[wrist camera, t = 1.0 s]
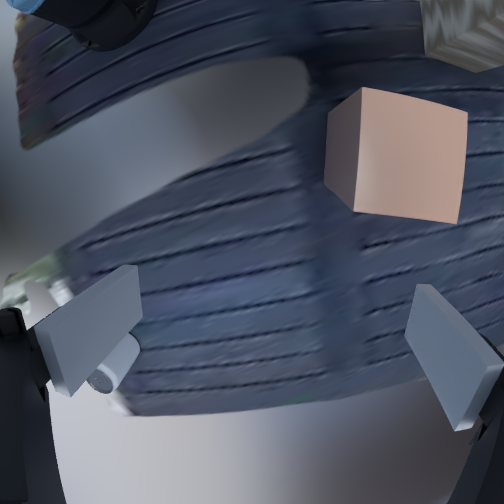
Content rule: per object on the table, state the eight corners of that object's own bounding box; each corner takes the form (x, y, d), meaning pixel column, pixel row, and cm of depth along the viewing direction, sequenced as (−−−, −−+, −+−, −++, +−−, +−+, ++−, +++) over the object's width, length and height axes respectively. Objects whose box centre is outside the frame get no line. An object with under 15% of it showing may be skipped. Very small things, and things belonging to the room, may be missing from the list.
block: (389, 191, 41) (456, 224, 23) (323, 183, 42) (353, 211, 23) (395, 123, 38) (467, 112, 19) (327, 113, 38) (362, 87, 20)
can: (106, 332, 55) (76, 368, 43) (130, 326, 53) (100, 365, 42) (122, 358, 56) (96, 396, 45) (146, 354, 55) (121, 394, 44)
